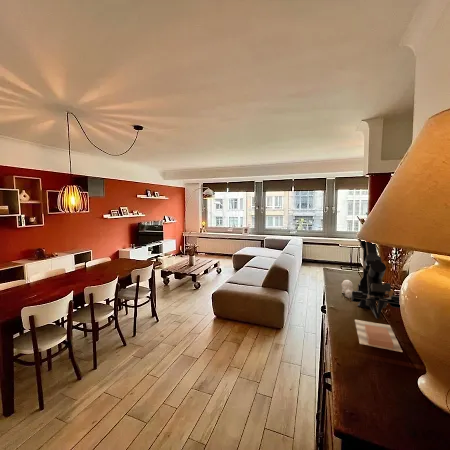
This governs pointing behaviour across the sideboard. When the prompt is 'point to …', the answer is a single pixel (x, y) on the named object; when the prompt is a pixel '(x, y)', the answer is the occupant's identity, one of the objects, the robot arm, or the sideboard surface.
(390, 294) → the lion figurine
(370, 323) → the board
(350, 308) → the sideboard surface
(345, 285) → the white rounded lump
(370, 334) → the tile
